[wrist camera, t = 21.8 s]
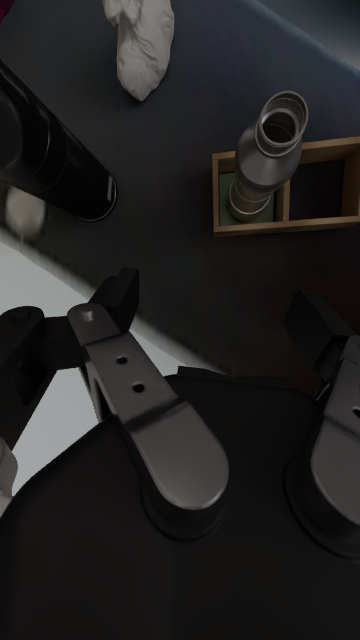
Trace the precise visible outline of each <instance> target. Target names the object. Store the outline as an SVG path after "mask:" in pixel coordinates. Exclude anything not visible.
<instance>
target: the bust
mask: <svg viewBox="0 0 360 640" xmlns="http://www.w3.org/2000/svg"><path fill="white" fill-rule="evenodd" d="M102 3H103V6H104V10H105V14H106V18H107V19H108V20H109V21H111V23H112V25H113V27H114V26H115V24H116V23H117V24H119V28H118V44H117V69H118V70H117V75H118V79H119V80H120V82H121V85H122V86H123V88H124V89H125V90H127V91H128V92H129V93H130V94H131V95H132V96H133V97H135V98H136V99H138V100H139V101H143V100H144V99H145V98H146V97H147V96H148V94H149V93H150V92H151V91H152V90H154V89H155V88H157V87H158V85H159V82H160V81H161V79H162V78H163V76H164V75H165V73H166V70H167V66H168V63H169V59H170V47H171V43H172V39H173V35H174V14H173V11H172V10H171V5H170V0H102Z"/></svg>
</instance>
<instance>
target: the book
mask: <svg viewBox="0 0 360 640" xmlns="http://www.w3.org/2000/svg"><path fill="white" fill-rule="evenodd" d="M13 1H14V0H0V21H1V20H2V18H3V16H4V14H5V13H6V14H7V12H8V11H9V9H10V7H11V5H12V3H13Z"/></svg>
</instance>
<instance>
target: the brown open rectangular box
mask: <svg viewBox="0 0 360 640" xmlns="http://www.w3.org/2000/svg"><path fill="white" fill-rule="evenodd" d="M343 159H345V163H344V178H343V193H342V208H341V217H334V218H321V219H308V220H295V221H289V194H290V179H289V180H288V181H287V182H286V183H285V184H284V185H283V186H281V187H280V188H278V189H277V190H276V192H275V222H273V199H274V192H273V193H272V194H271V199H270V201H269V204H268V206H267V208H266V209H265V211H264V212H263V213H262V214H260V215H259V216H258V217H256V218H253V219H250V220H240V219H238V218H236V217H235V216H233V215H232V214H231V212H230V210H229V208H228V205H227V201H226V195H227V190H228V187H229V185H230V183H231V182H232V180H233V178H234V177H235V173H229V174H220V175H219V190H218V173H222V172H231V171H235V165H234V163H235V151H232V152H224V153H215V154H212V190H213V237H225V236H239V235H253V234H267V233H281V232H296V231H310V230H324V229H338V228H346V227H349V226H352V225H355V224H357V223H360V136H358V137H350V138H341V139H333V140H325V141H316V142H308V143H302V152H301V157H300V161H299V164H305V163H315V162H324V161H333V160H343ZM219 198H220V226H219Z"/></svg>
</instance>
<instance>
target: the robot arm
mask: <svg viewBox="0 0 360 640" xmlns="http://www.w3.org/2000/svg"><path fill="white" fill-rule="evenodd" d="M0 181H2V182H4V183H6V184H8V185H11V186H13V187H15V188H17V189H19V190H21V191H24V192H26V193H28V194H30V195H32V196H35V197H37V198H39V199H41V200H43V201H45V202H47V203H50V204H52V205H54V206H56V207H58V208H60V209H63V210H65V211H67V212H69V213H71V214H73V215H75V216H77V217H78V218H80V219H83V220H85V221H89V222H96V221H100V220H102V219H104V218H106V217H107V216H108V215H109V214H110V213H111V212H112V210H113V209H114V207H115V205H116V201H117V195H118V192H117V185H116V182H115V179H114V177H113V175H112V174H111V173H110V172H109V170H108V169H107V168H106V167H104V166H103V165H102V164H101V163H100V162H99V161H98V160H97V159H96V158H95V157H94V156H93V155H92V153H91V152H90V151H89V150H88V149H87V148H86V147H85V146H84V145H83V144H82V143H81V142H80V141H79V140H78V139H77V138H76V137H75V136H74V135H73V134H72V133H71V132H70V131H69V130H68V128H67V127H66V126H65V125H64V124H63V123H62V122H61V121H60V120H59V119H58V118H57V117H56V116H55V115H54V114H53V113H52V112H51V111H50V110H49V109H48V108H47V107H46V106H45V105H44V104H43V103H42V102H41V100H40V99H39V98H38V97H37V96H36V95H35V94H34V93H33V92H32V91H31V90H30V89H29V88H28V87H27V86H26V85H25V84H24V83H23V82H22V81H21V80H20V79H19V78H18V77H17V76H16V75H15V74H14V73H13V72H12V71H11V70H10V69H9V68H8V67H7V66H6V65H5V64H4V63H3V61H2V60H1V59H0ZM138 304H139V270H137V269H129V268H123V269H122V270H121V272H120V273H119V275H118V276H117V277H116V276H111V277H109V278H107V279H106V280H104V281H103V283H102V284H101V286H100V287H99V288H98V289H97V291H96V292H95V293H94V295H93V296H92V297H91V299H90V300H89V302H88V303H83V304H79V305H76V306H74V307H72V308H71V309H70V310H69V311H68V313H67V316H60V317H46V318H45V317H44V313H43V311H42V310H41V309H40V308H38V307H34V306H23V307H17V308H13V309H11V310H8V311H6V312H4V313H3V314H2V315H0V640H360V335H355V334H354V333H353V331H352V330H351V329H350V328H349V327H348V326H347V325H346V323H345V322H344V321H342V319H341V318H340V317H339V316H338V314H337V313H336V312H335V311H334V310H333V309H332V308H331V307H329V306H328V305H326V304H325V303H324V302H323V301H322V299H321V298H320V297H319V296H318V295H317V294H316V292H313V291H305V290H297V291H296V292H295V294H294V296H293V298H292V301H291V303H290V305H289V307H288V310H287V312H286V314H285V317H284V327H285V329H286V331H287V333H288V335H289V337H290V339H291V341H292V343H293V345H294V347H295V349H296V351H297V353H298V355H299V357H300V359H301V361H302V363H303V365H304V367H305V369H306V371H307V373H308V374H312V375H321V379H320V380H319V382H318V383H317V385H316V387H315V390H314V392H313V394H312V396H311V397H310V396H309V395H307V394H305V393H303V392H301V391H298V390H296V389H293V388H292V386H291V384H290V381H289V379H285V378H277V377H269V376H253V377H242V378H232V377H229V376H226V375H223V374H220V373H217V372H213V371H210V370H207V369H201V368H193V367H185V366H178V372H177V374H173V375H168V376H164V377H163V376H162V375H161V373H160V372H159V370H158V369H157V368H156V366H155V365H154V364H153V362H152V361H151V359H150V358H149V357H148V355H147V354H146V353H145V351H144V350H143V349H142V347H141V346H140V345H139V343H138V342H137V341H136V339H135V338H134V336H133V335H132V334H131V333H130V332H129V329H130V326H131V324H132V321H133V319H134V316H135V314H136V311H137V308H138ZM77 367H78V368H79V371H80V373H81V375H82V378H83V380H84V382H85V385H86V387H87V390H88V393H89V395H90V397H91V400H92V403H93V406H94V409H95V413H96V416H97V419H98V421H99V423H98V424H97V425H96V426H95V427H93V428H92V429H91V430H90V431H88V432H87V433H86V434H85V435H83V436H82V437H81V438H80V439H78V440H77V441H76V442H75V443H73V444H72V445H71V446H70V447H68V448H67V449H66V450H65V451H63V452H62V453H61V454H60V455H58V456H57V457H56V458H55V459H53V460H52V461H51V462H50V463H48V464H47V465H46V466H45V467H43V468H42V469H41V470H40V471H38V472H37V473H36V474H35V475H34V476H32V477H31V478H30V479H29V480H28V481H27V482H26V483H25V484H24V485H23V486H22V487H21V489H20V490H19V491H18V492H17V493H16V495H15V496H12V486H13V482H14V479H15V477H16V474H17V469H18V464H17V460H16V458H15V456H14V455H13V453H12V452H11V451H12V450H13V448H14V446H15V445H16V443H17V441H18V439H19V437H20V436H21V434H22V432H23V430H24V429H25V427H26V425H27V423H28V421H29V420H30V418H31V416H32V414H33V412H34V411H35V409H36V407H37V406H38V404H39V402H40V400H41V398H42V397H43V395H44V393H45V391H46V390H47V388H48V386H49V384H50V383H51V381H52V379H53V377H54V375H55V374H56V372H57V370H61V369H69V368H77Z"/></svg>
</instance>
